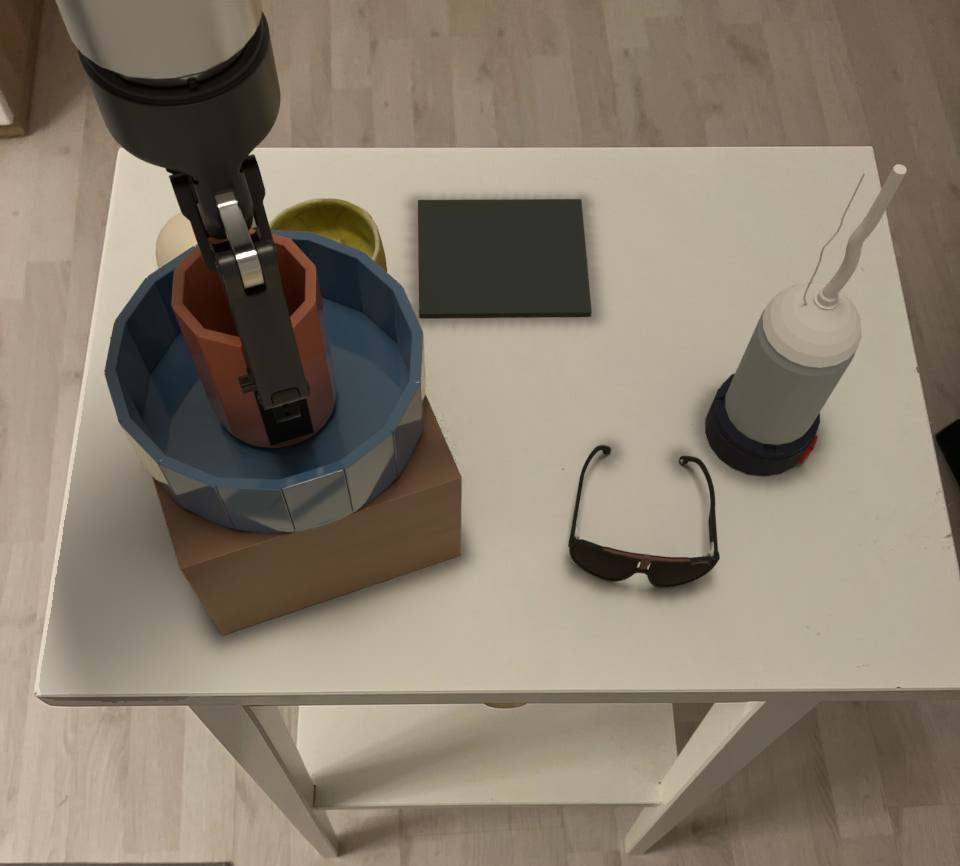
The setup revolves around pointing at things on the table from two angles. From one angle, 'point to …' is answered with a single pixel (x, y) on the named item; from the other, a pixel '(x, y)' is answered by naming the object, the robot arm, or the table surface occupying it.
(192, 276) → the cup
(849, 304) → the humidifier
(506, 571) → the table surface
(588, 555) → the sunglasses
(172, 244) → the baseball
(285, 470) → the bowl
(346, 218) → the mug
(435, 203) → the mat
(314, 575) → the riser
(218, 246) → the robot arm
